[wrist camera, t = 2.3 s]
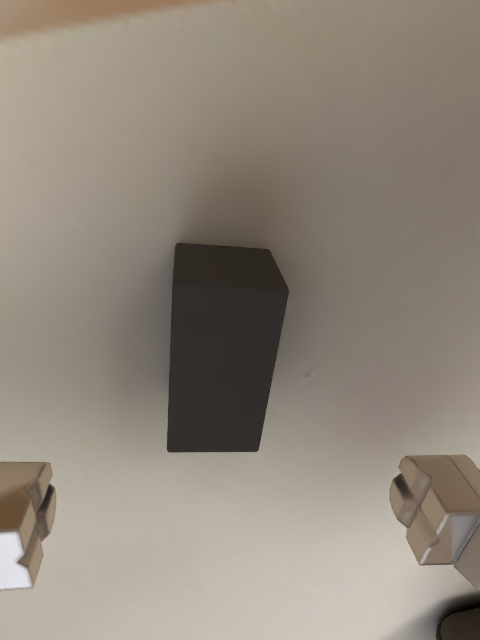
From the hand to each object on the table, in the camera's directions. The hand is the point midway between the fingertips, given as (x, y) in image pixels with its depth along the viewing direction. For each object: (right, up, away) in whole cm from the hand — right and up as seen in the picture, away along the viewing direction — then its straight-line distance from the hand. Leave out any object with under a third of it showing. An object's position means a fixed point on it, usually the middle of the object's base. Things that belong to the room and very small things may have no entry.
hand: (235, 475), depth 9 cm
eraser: (-1, +3, +5) cm, 6 cm away
